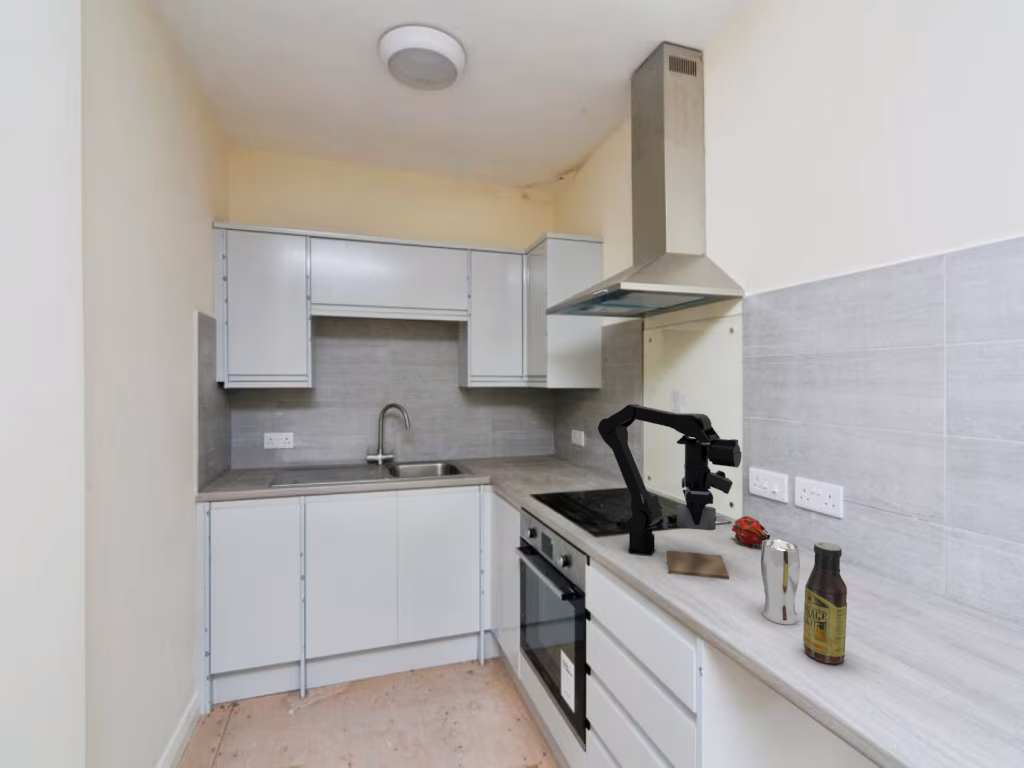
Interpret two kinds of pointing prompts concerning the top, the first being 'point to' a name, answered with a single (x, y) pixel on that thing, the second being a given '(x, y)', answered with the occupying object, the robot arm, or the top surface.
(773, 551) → the beer glass
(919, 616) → the top surface
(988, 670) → the top surface
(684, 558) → the board
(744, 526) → the dragon fruit
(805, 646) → the sauce bottle
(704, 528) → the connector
